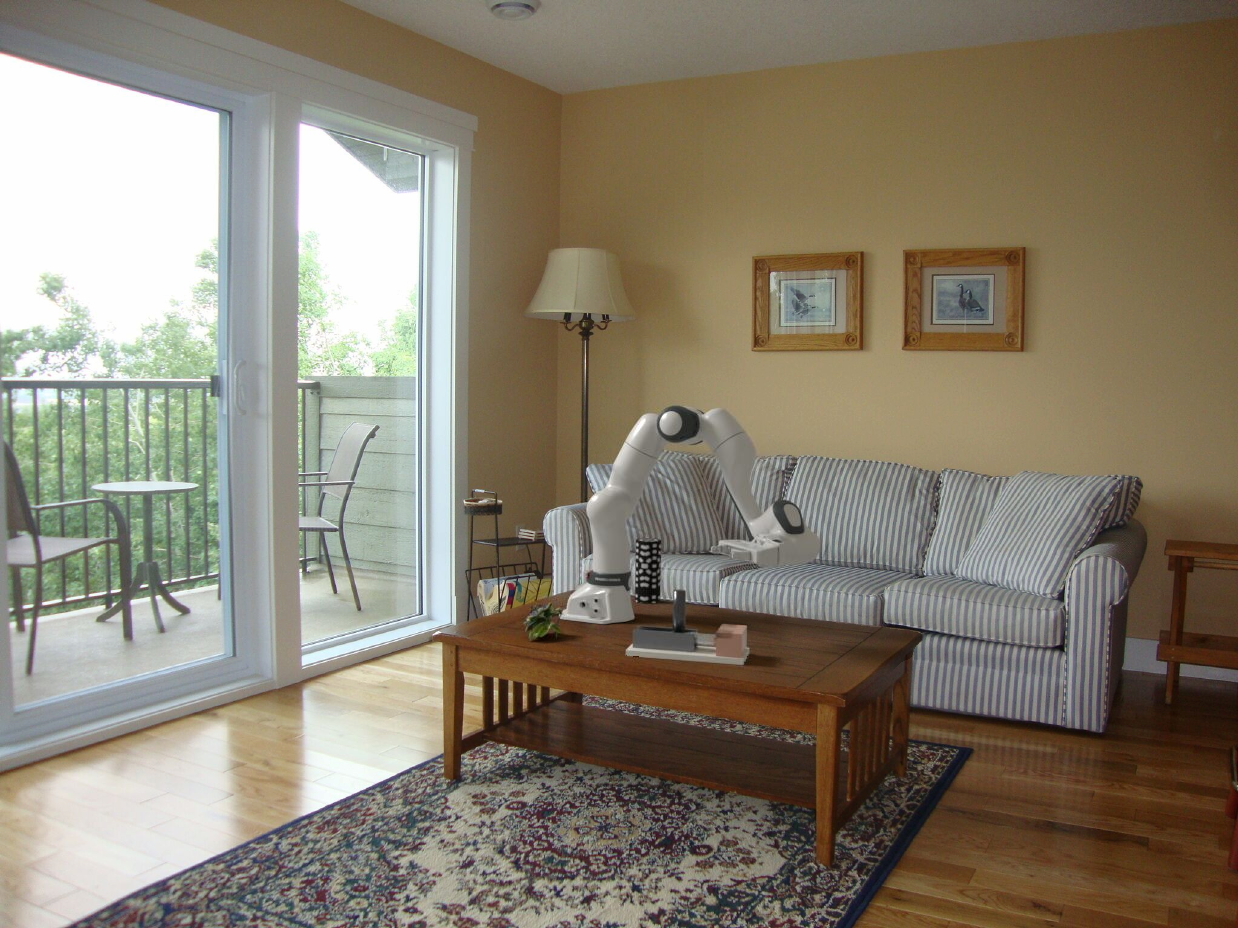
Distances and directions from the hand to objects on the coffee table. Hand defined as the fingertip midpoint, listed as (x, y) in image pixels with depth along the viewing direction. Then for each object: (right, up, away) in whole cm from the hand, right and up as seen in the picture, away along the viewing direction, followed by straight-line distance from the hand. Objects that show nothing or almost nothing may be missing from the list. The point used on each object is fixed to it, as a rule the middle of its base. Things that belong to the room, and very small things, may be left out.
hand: (721, 552), depth 263 cm
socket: (+2, -25, -7) cm, 26 cm away
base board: (-9, -26, -4) cm, 28 cm away
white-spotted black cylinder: (-18, -21, +64) cm, 70 cm away
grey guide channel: (-15, -24, -3) cm, 29 cm away
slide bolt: (-6, -23, -5) cm, 25 cm away
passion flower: (-47, -24, +13) cm, 55 cm away
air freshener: (-35, -21, +62) cm, 75 cm away
